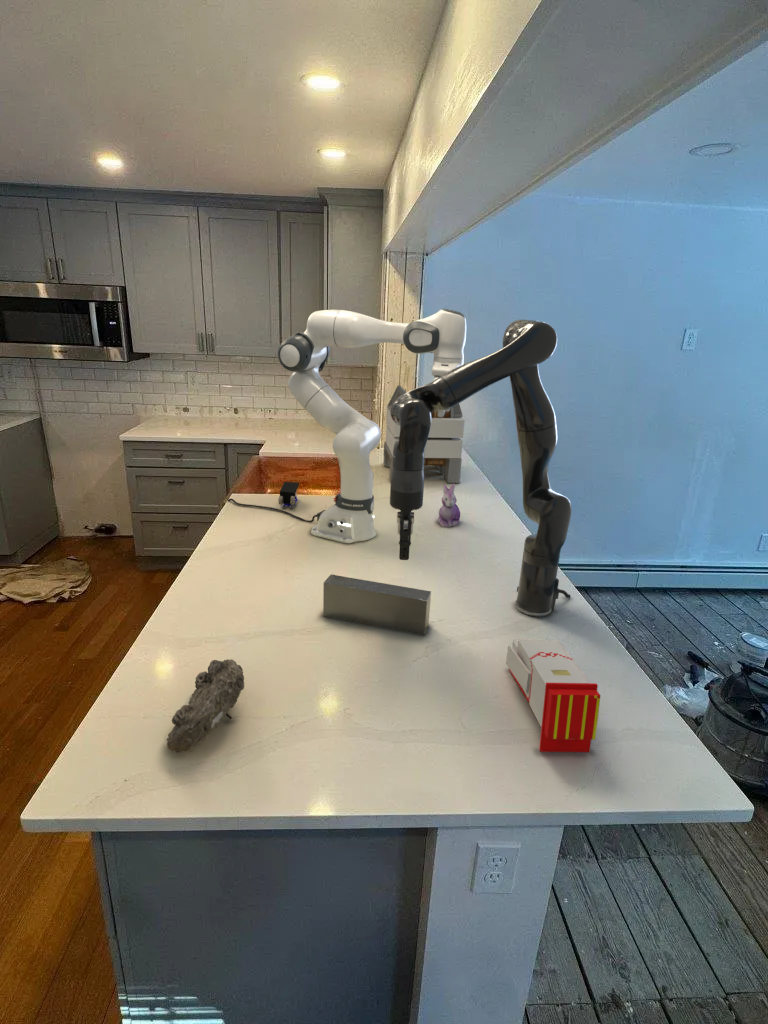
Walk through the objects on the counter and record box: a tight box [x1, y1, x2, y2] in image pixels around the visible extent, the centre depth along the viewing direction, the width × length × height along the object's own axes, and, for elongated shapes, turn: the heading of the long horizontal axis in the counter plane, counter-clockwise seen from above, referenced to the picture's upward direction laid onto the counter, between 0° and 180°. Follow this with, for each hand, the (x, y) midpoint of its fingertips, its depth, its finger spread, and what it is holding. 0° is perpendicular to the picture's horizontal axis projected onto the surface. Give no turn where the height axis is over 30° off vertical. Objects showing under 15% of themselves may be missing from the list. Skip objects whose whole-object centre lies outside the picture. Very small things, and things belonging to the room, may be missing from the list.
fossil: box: [166, 658, 245, 754], centre depth 106 cm, size 22×10×15 cm
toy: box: [505, 638, 602, 753], centre depth 114 cm, size 12×13×30 cm
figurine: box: [437, 483, 461, 528], centre depth 209 cm, size 9×10×15 cm
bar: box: [322, 574, 432, 636], centre depth 142 cm, size 26×5×10 cm, turn 74°
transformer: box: [383, 384, 465, 484], centre depth 268 cm, size 34×33×41 cm
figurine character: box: [278, 481, 300, 510], centre depth 223 cm, size 7×8×15 cm
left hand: (443, 414), depth 172 cm, fingers open, 8 cm apart
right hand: (403, 551), depth 133 cm, fingers open, 8 cm apart
